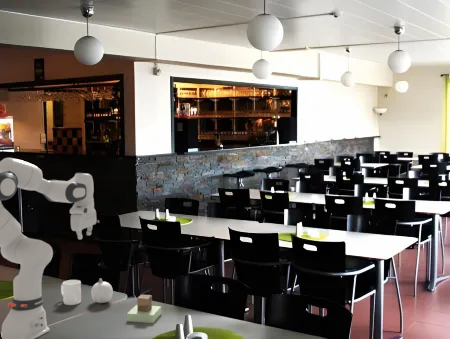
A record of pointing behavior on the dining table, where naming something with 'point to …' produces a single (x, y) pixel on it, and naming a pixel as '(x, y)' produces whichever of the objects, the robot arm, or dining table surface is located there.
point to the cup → (71, 292)
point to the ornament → (102, 292)
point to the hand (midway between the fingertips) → (84, 237)
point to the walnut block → (144, 303)
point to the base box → (144, 315)
